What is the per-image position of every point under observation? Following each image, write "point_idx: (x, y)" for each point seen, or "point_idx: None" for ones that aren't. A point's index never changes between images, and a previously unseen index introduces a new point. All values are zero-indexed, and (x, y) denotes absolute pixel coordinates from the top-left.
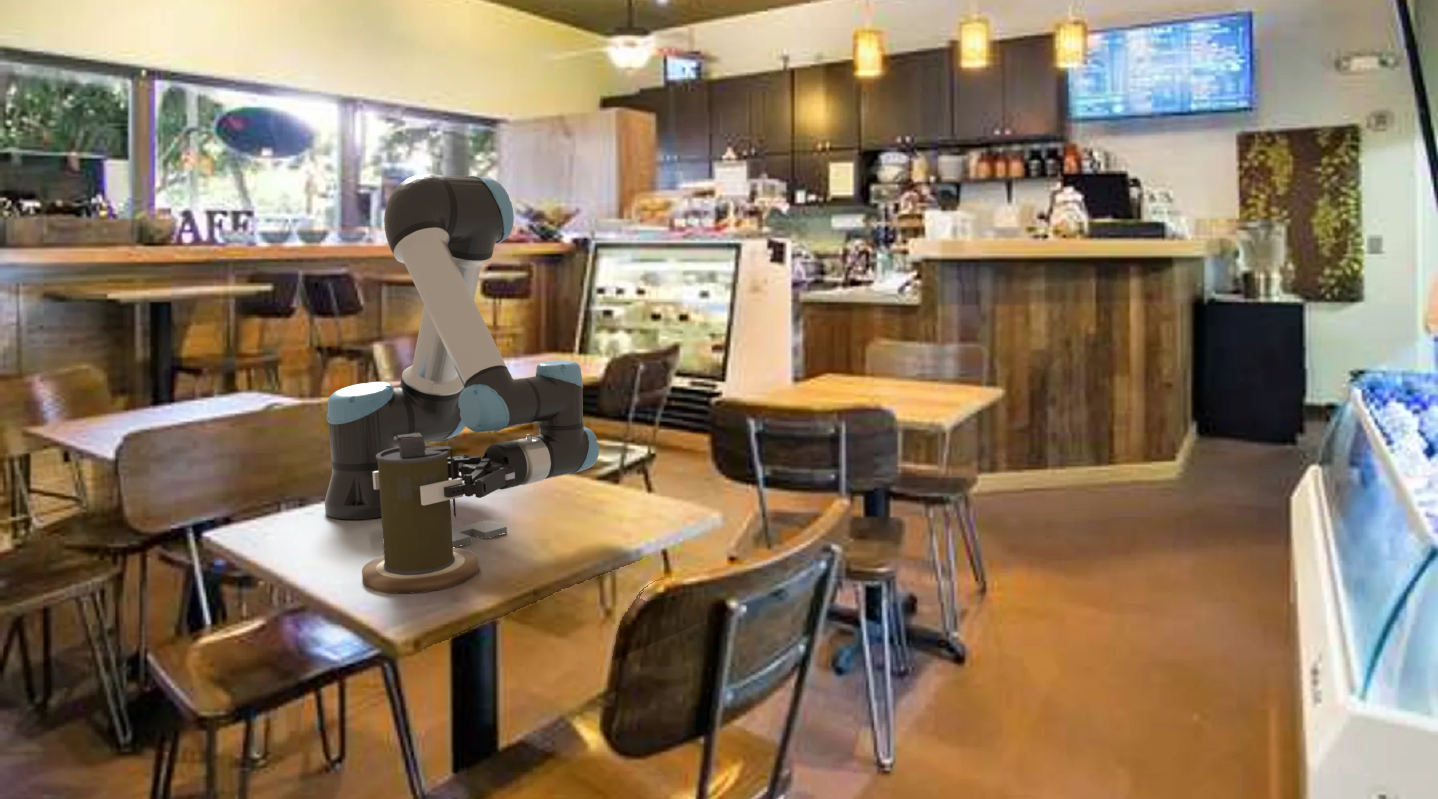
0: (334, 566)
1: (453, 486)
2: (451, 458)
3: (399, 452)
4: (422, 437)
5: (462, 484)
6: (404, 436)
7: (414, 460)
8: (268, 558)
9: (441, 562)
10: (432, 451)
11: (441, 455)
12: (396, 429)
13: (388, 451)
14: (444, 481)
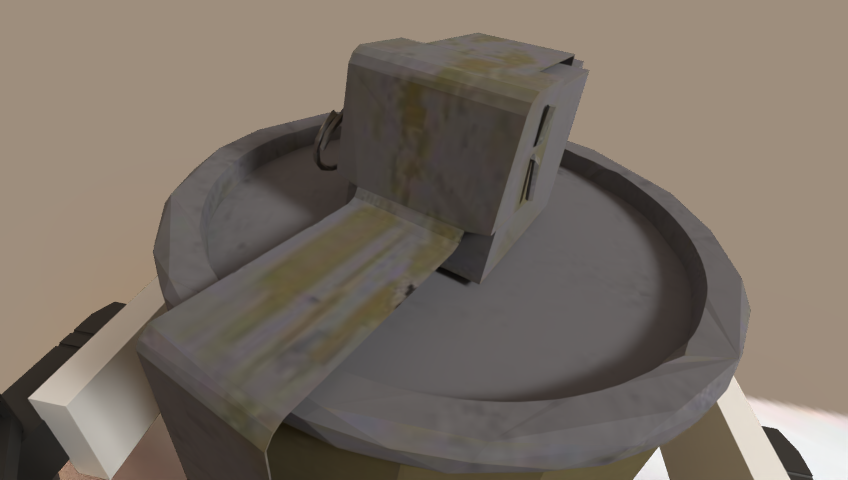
0: (652, 474)
1: (88, 338)
2: (221, 472)
3: (628, 246)
4: (354, 60)
5: (28, 394)
6: (476, 41)
7: (282, 124)
8: (816, 432)
9: None
10: (453, 357)
11: (165, 208)
12: None
13: (650, 205)
14: (150, 306)
